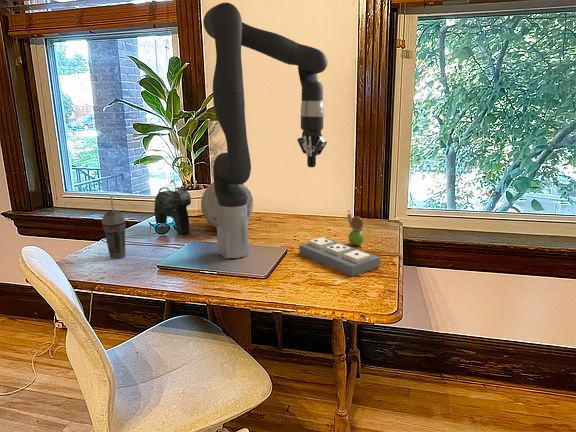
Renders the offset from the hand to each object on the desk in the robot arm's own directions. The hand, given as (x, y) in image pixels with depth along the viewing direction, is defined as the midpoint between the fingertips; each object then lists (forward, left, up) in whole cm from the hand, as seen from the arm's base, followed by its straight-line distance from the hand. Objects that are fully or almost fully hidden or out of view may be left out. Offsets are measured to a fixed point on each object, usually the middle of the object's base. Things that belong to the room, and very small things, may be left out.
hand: (311, 166), depth 150 cm
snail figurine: (+10, -12, -27) cm, 31 cm away
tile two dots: (-5, -11, -25) cm, 28 cm away
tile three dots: (-5, -19, -25) cm, 32 cm away
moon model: (-15, +32, -27) cm, 45 cm away
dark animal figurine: (-33, +44, -27) cm, 61 cm away
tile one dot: (-5, -27, -25) cm, 37 cm away
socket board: (-5, -19, -27) cm, 33 cm away
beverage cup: (-59, +28, -27) cm, 71 cm away
